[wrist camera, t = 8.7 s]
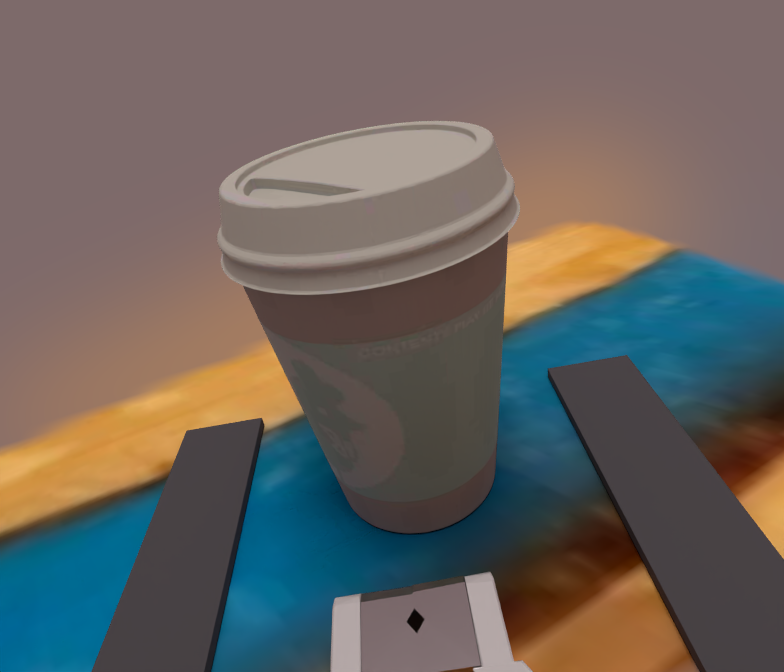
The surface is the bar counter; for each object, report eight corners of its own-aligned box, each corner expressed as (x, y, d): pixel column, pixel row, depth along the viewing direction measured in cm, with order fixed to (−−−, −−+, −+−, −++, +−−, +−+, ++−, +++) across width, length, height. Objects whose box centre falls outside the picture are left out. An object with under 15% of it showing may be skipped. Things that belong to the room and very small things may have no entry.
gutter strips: (882, 704, 13) (887, 695, 12) (41, 824, 13) (34, 818, 13) (626, 362, 25) (626, 355, 24) (189, 437, 25) (186, 430, 25)
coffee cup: (297, 435, 24) (203, 160, 18) (480, 380, 25) (450, 103, 19) (326, 608, 17) (185, 249, 11) (580, 520, 18) (583, 149, 12)
